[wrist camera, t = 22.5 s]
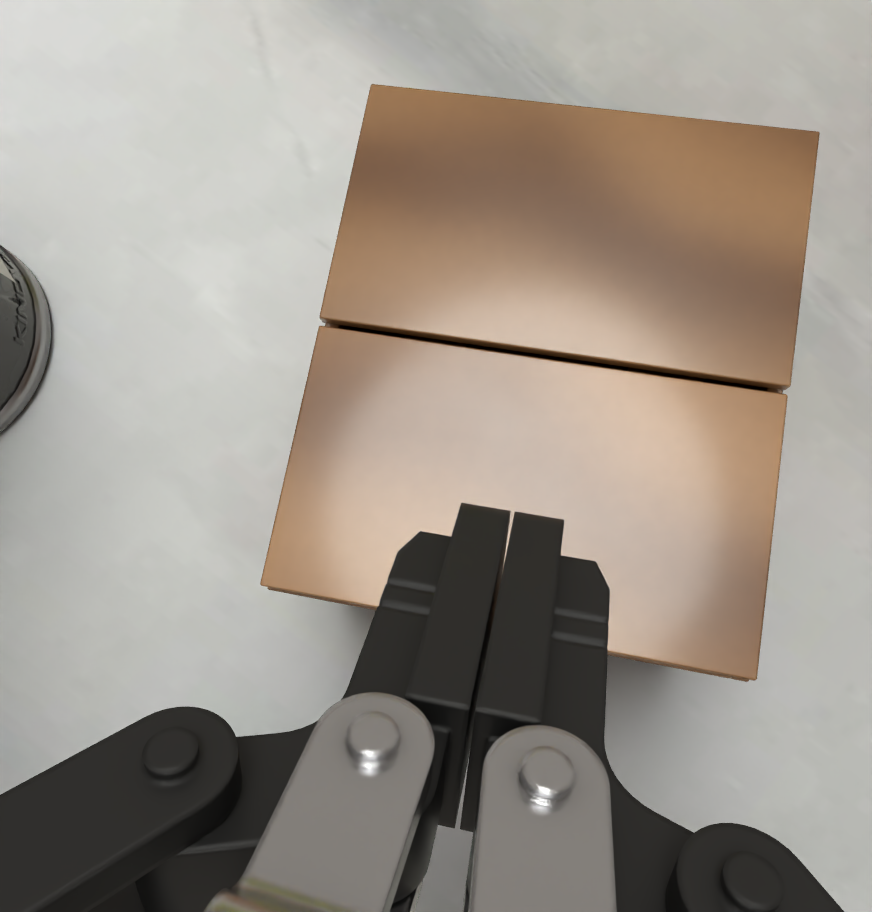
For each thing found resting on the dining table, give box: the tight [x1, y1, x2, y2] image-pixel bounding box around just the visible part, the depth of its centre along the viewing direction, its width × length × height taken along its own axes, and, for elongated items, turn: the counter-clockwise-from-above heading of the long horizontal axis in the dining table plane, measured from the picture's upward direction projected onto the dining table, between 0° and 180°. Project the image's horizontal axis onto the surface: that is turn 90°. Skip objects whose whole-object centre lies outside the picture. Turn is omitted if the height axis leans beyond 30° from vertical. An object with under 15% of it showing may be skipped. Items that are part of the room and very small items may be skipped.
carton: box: [268, 84, 819, 682], centre depth 25 cm, size 14×12×10 cm
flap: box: [260, 326, 787, 680], centre depth 20 cm, size 7×12×1 cm, turn 79°
